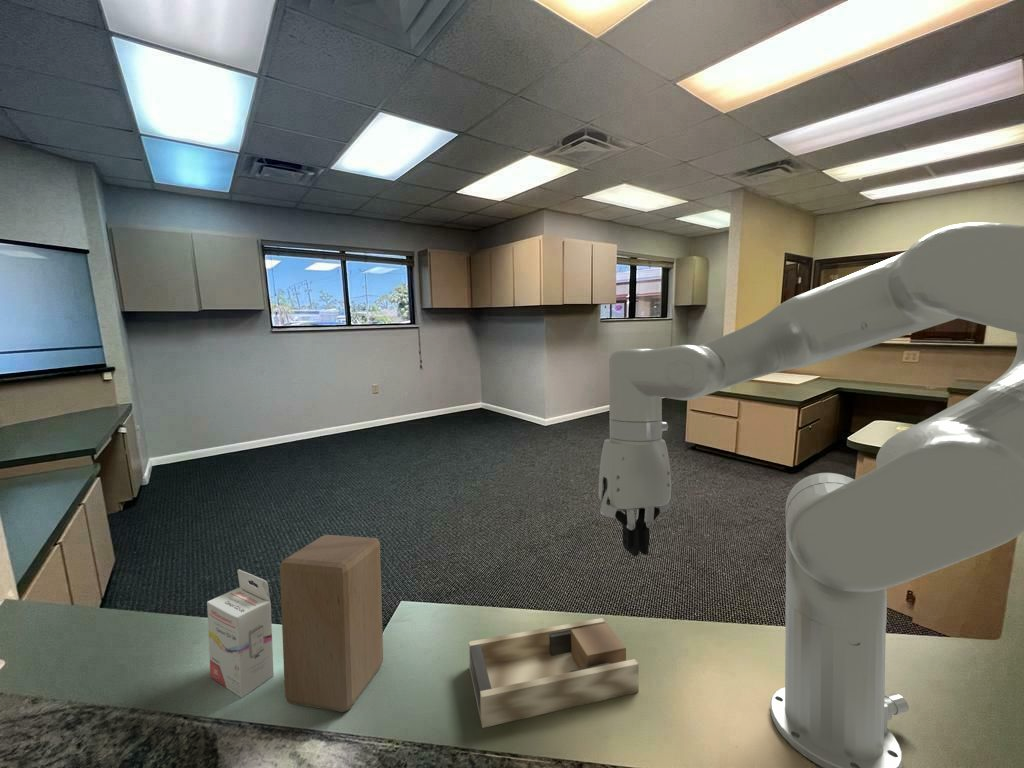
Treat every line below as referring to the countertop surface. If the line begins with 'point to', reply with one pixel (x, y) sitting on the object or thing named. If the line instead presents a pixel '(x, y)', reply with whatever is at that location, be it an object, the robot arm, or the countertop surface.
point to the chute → (541, 675)
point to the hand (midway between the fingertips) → (636, 551)
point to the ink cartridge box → (241, 636)
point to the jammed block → (596, 646)
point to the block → (331, 621)
